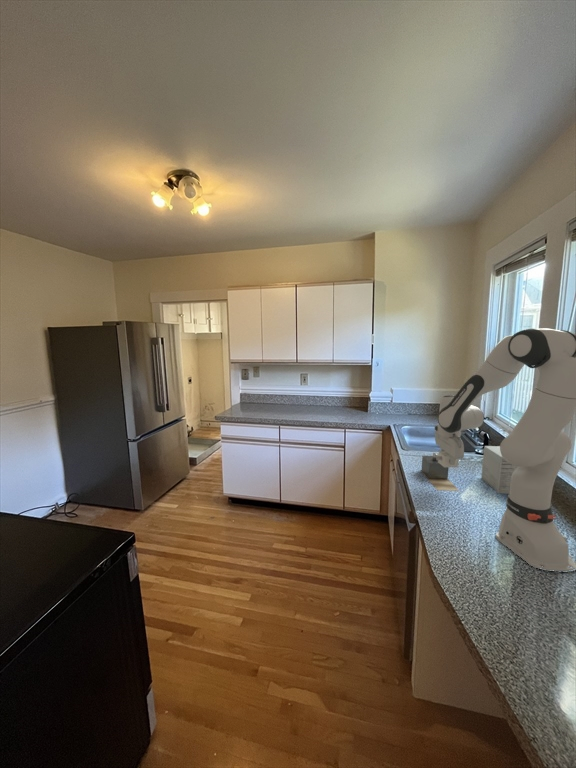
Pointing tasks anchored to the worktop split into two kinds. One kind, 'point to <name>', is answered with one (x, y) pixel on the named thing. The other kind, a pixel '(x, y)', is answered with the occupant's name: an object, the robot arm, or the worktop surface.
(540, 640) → the worktop surface
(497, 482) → the supplement box
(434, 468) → the stepped grey block
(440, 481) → the board
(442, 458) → the pump housing
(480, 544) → the worktop surface
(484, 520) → the worktop surface
